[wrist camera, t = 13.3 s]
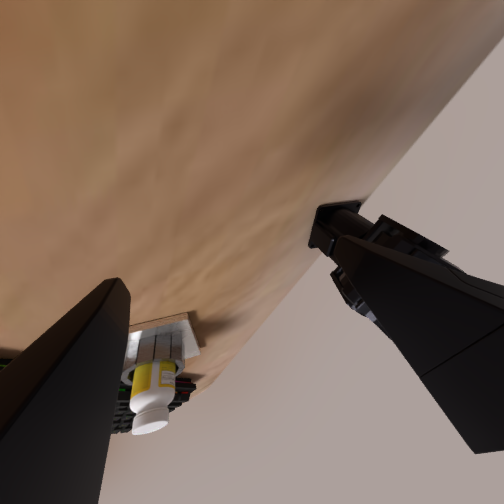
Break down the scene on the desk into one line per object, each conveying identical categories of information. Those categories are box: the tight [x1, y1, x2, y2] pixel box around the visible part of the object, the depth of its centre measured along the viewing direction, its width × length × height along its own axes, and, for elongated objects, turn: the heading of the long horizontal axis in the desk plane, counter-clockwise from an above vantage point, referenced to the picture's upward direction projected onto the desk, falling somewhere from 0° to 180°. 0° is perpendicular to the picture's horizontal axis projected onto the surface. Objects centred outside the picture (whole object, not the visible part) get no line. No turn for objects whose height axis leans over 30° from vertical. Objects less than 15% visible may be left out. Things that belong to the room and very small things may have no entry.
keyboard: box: [0, 359, 196, 434], centre depth 30 cm, size 42×16×5 cm, turn 37°
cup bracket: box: [121, 313, 201, 386], centre depth 29 cm, size 12×12×5 cm
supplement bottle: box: [130, 361, 175, 435], centre depth 26 cm, size 5×5×10 cm
